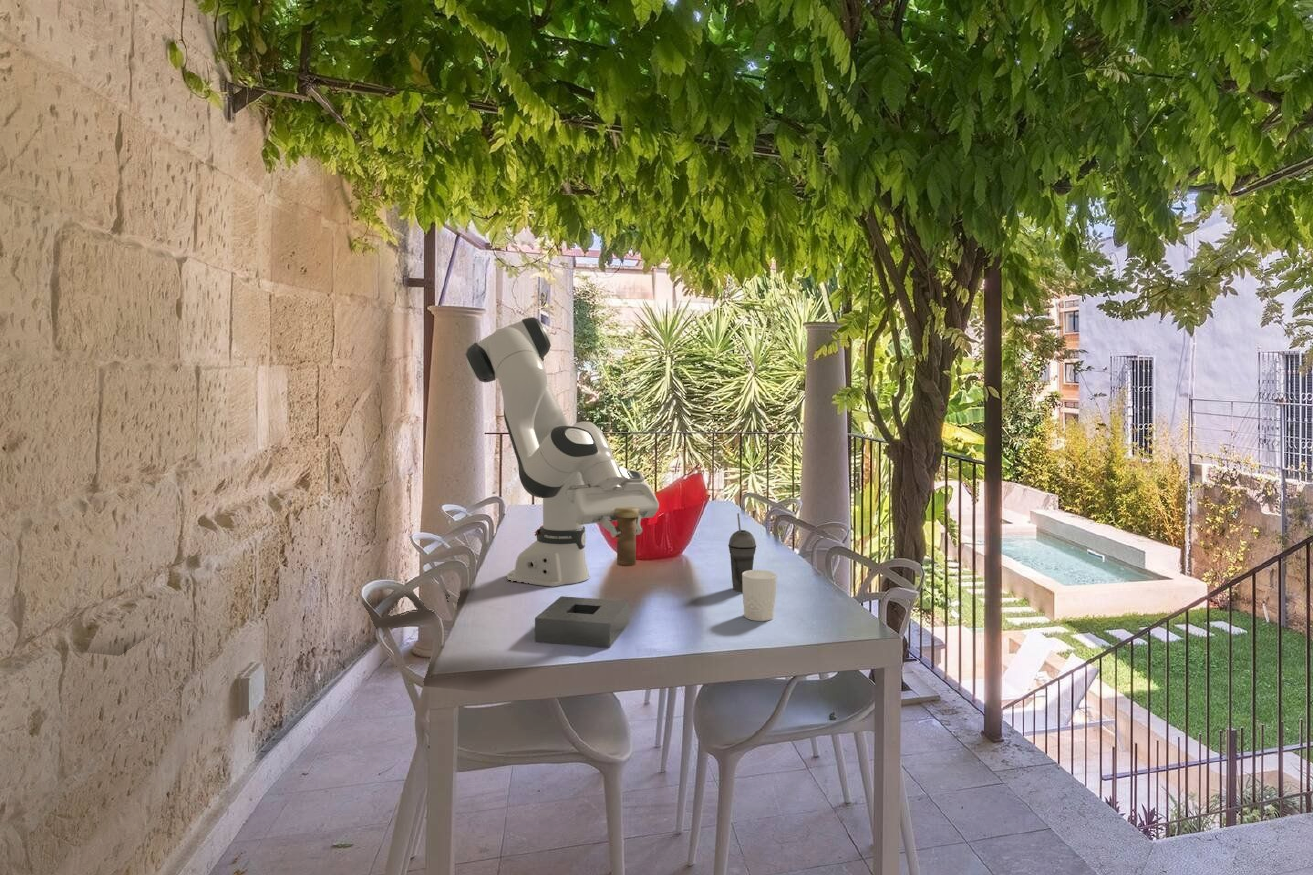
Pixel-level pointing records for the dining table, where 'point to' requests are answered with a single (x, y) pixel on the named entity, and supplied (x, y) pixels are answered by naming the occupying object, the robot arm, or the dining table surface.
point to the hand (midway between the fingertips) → (627, 534)
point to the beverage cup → (741, 555)
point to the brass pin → (626, 535)
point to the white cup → (759, 594)
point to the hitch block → (582, 622)
